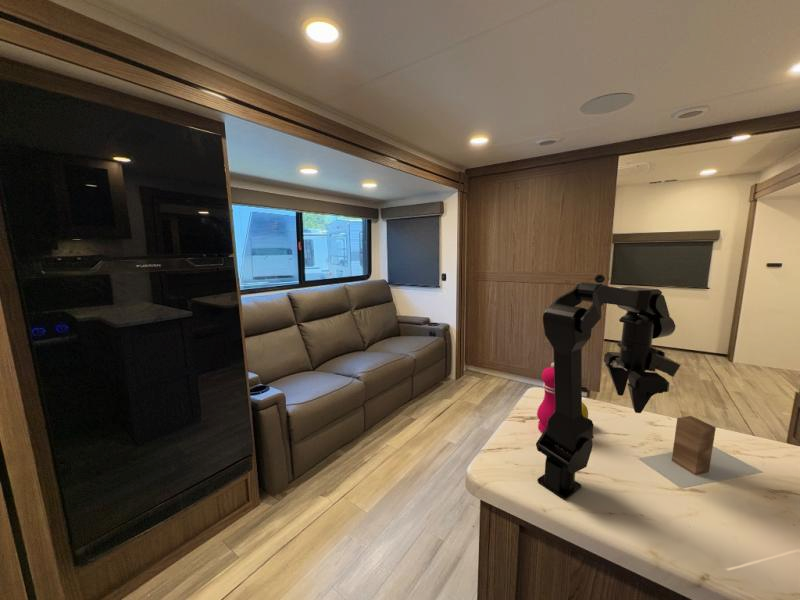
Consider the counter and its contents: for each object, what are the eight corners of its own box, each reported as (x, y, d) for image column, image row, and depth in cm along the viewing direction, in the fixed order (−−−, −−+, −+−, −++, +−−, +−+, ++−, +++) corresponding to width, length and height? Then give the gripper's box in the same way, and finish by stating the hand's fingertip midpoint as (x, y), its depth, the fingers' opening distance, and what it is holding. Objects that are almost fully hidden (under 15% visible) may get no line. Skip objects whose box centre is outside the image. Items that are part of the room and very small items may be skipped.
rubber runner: (680, 489, 67) (681, 488, 67) (637, 459, 77) (637, 458, 77) (762, 473, 71) (763, 471, 71) (711, 446, 81) (711, 445, 81)
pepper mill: (561, 441, 84) (566, 369, 81) (533, 431, 89) (537, 363, 85) (566, 428, 90) (572, 361, 87) (539, 420, 94) (543, 356, 91)
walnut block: (694, 475, 71) (701, 429, 69) (671, 460, 76) (677, 417, 74) (708, 472, 71) (715, 427, 70) (685, 458, 76) (691, 415, 75)
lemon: (567, 419, 95) (569, 394, 94) (588, 425, 92) (590, 399, 90) (563, 427, 91) (564, 401, 90) (585, 434, 87) (587, 406, 86)
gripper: (704, 356, 63) (693, 428, 66) (654, 333, 81) (647, 391, 84) (640, 351, 66) (631, 421, 68) (606, 330, 84) (599, 386, 86)
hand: (628, 403), depth 77 cm, fingers open, 9 cm apart
